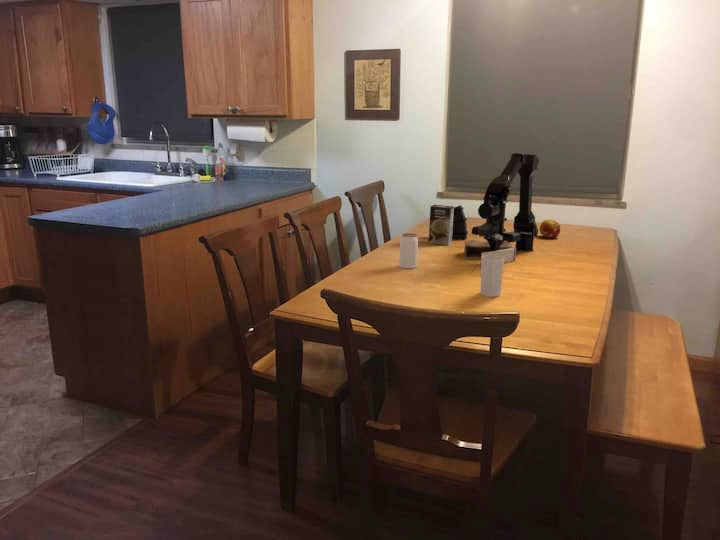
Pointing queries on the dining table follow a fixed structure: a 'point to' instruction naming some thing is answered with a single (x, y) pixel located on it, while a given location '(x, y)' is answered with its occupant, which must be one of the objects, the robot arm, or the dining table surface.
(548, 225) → the fruit
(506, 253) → the door
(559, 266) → the dining table surface
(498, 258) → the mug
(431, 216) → the coffee box
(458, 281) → the dining table surface
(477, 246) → the walnut box
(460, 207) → the black piece
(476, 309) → the dining table surface
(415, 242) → the can
